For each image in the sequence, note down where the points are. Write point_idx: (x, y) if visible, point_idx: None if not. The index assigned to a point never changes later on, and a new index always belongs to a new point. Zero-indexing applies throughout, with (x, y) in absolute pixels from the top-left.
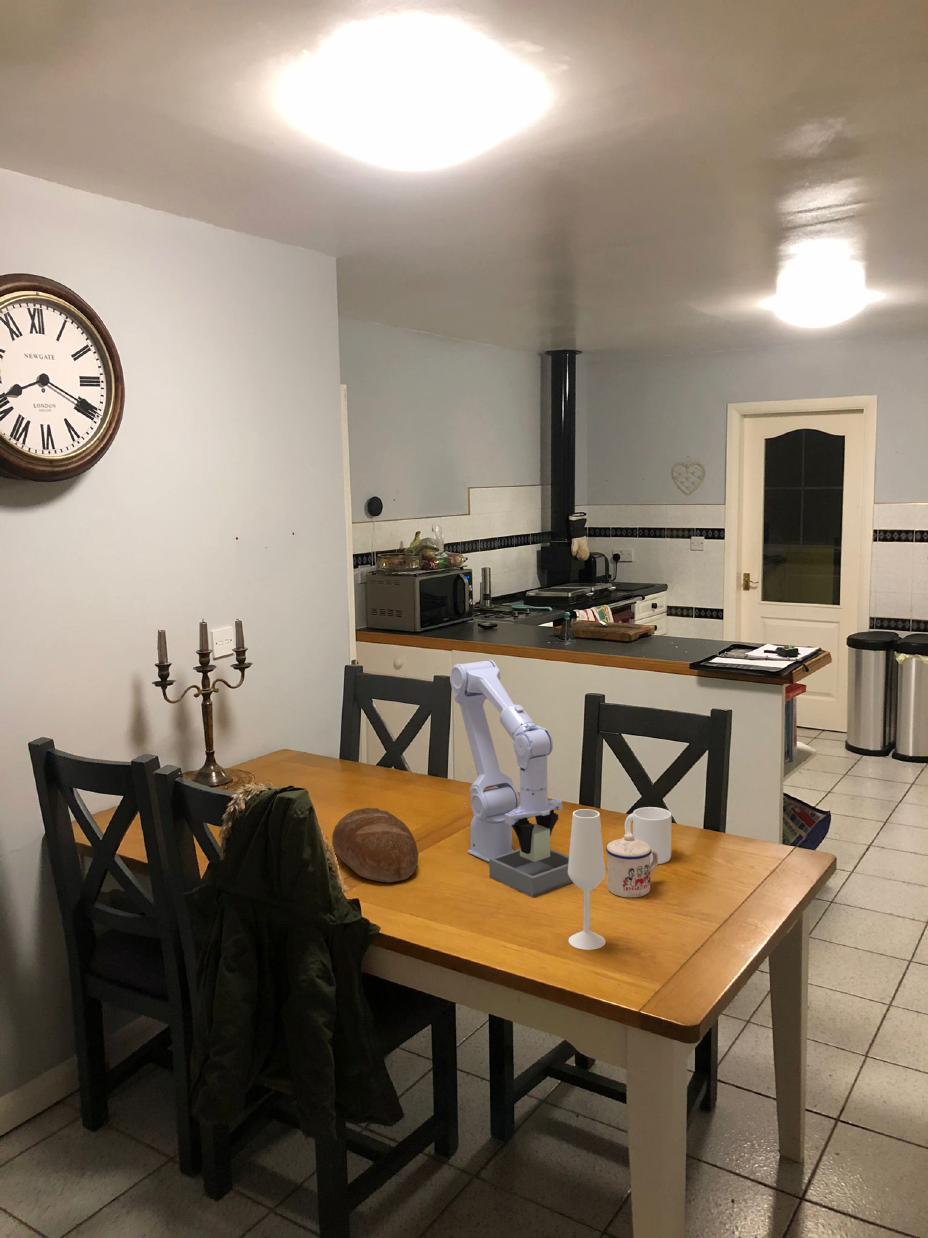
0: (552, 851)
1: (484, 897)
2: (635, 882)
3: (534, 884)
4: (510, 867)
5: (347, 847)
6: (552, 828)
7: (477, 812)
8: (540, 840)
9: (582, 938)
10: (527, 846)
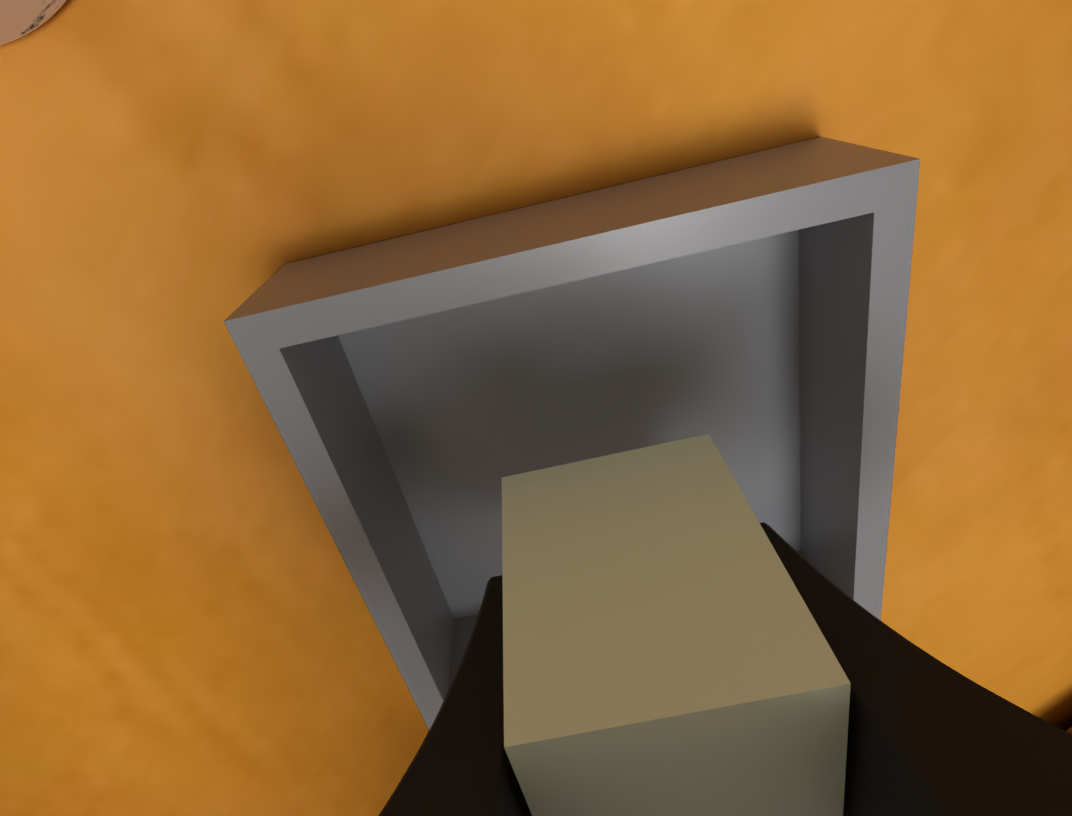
0: (386, 593)
1: (1069, 319)
2: None
3: (857, 154)
4: (877, 474)
5: None
6: (424, 765)
7: None
8: (674, 603)
9: None
10: (822, 575)
